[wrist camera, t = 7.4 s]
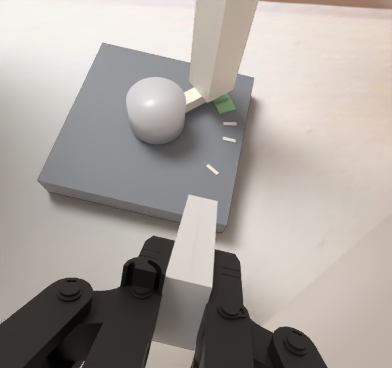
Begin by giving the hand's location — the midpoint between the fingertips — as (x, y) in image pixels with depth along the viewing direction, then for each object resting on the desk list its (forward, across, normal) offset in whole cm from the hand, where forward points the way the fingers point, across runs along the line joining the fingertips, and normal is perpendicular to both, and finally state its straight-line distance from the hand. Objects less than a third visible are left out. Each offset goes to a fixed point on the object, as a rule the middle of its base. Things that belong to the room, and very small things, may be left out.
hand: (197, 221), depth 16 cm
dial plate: (+10, -4, +1) cm, 11 cm away
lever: (+10, -3, +4) cm, 11 cm away
